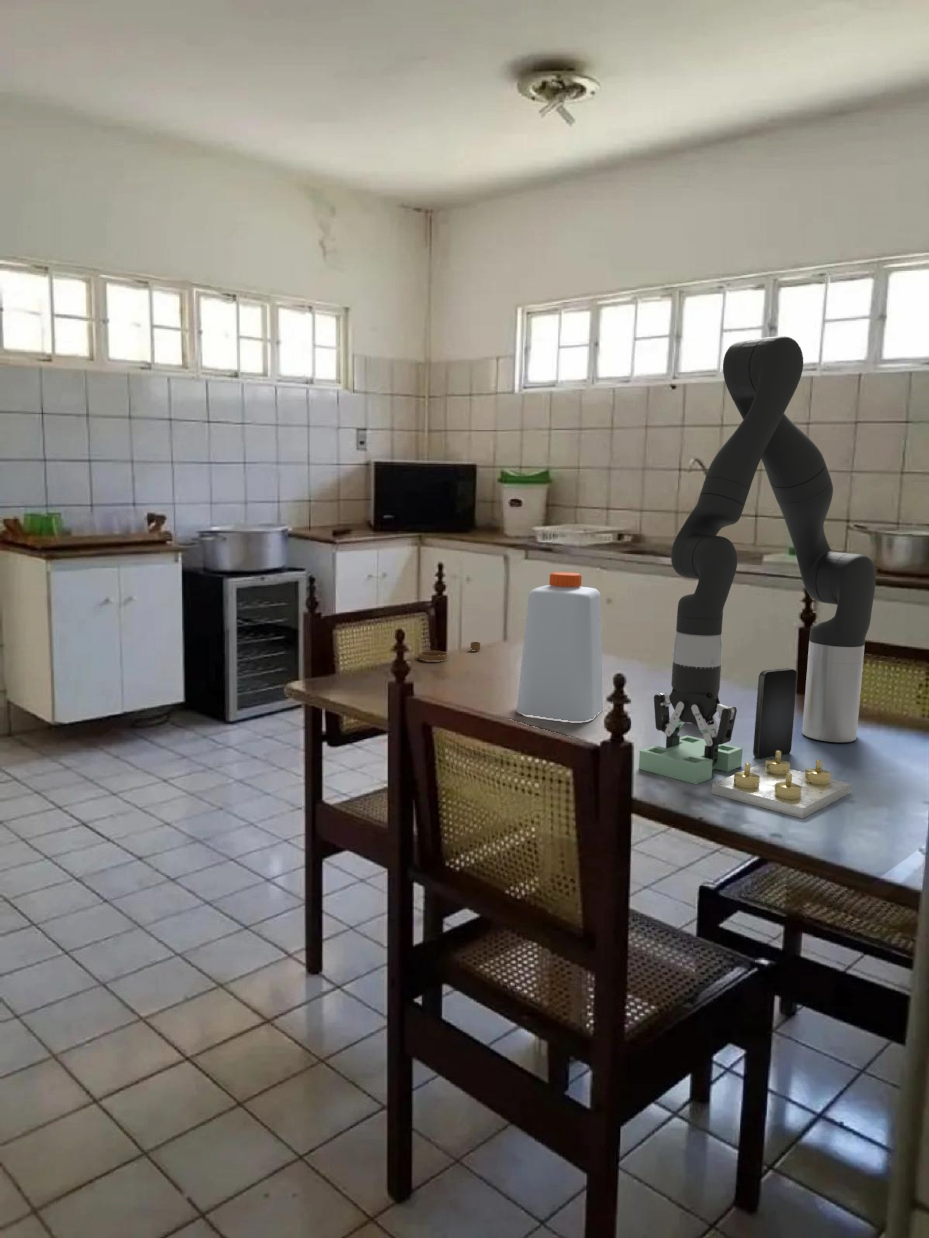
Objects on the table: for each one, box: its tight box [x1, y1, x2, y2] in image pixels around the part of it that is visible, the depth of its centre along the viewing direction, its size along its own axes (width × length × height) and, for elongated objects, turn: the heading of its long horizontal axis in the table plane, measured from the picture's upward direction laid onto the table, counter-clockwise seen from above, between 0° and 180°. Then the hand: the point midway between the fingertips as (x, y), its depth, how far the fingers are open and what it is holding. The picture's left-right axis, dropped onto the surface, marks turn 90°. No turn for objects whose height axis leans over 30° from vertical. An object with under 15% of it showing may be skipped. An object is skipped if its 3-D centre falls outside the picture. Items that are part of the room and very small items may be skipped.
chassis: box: [711, 751, 852, 820], centre depth 139 cm, size 14×16×5 cm
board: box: [638, 735, 743, 785], centre depth 151 cm, size 10×14×3 cm
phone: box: [752, 668, 798, 760], centre depth 157 cm, size 8×1×15 cm, turn 118°
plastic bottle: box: [516, 571, 604, 721], centre depth 180 cm, size 15×15×28 cm
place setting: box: [418, 641, 481, 660], centre depth 225 cm, size 18×20×6 cm
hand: (690, 762), depth 151 cm, fingers closed on board, 6 cm apart
